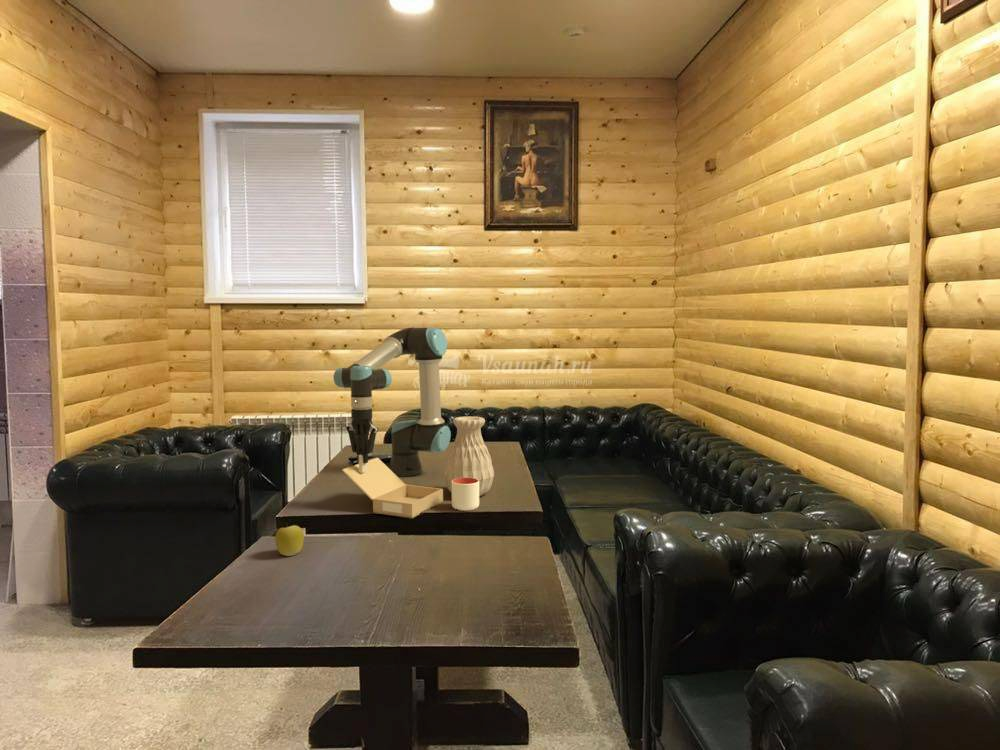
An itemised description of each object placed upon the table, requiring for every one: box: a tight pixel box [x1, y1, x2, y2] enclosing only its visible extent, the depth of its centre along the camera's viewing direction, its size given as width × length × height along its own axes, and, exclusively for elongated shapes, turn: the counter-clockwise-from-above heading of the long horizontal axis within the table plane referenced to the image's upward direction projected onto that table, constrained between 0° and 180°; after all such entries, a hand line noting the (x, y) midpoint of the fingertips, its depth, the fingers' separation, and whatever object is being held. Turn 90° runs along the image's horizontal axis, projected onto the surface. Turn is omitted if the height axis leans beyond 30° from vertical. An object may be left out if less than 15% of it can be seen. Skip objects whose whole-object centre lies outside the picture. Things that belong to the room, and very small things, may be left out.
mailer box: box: [372, 484, 444, 519], centre depth 242 cm, size 22×16×5 cm
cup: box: [451, 478, 480, 512], centre depth 241 cm, size 10×10×10 cm
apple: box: [274, 522, 305, 557], centre depth 194 cm, size 8×8×10 cm
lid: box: [341, 457, 407, 501], centre depth 247 cm, size 22×16×1 cm
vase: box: [443, 415, 495, 497], centre depth 259 cm, size 20×20×30 cm
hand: (362, 471), depth 244 cm, fingers closed
